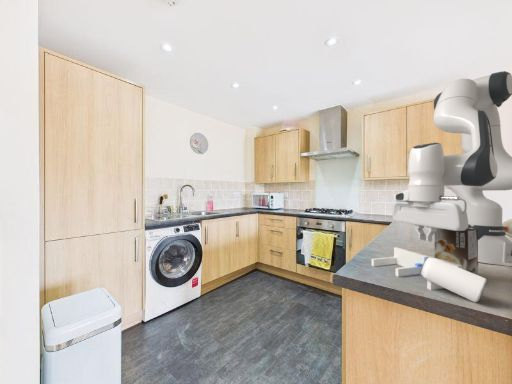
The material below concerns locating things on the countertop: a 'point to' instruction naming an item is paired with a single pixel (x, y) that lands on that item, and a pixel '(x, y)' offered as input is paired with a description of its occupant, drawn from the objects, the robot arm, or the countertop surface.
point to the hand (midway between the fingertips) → (425, 240)
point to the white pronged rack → (408, 264)
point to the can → (453, 278)
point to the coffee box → (458, 247)
